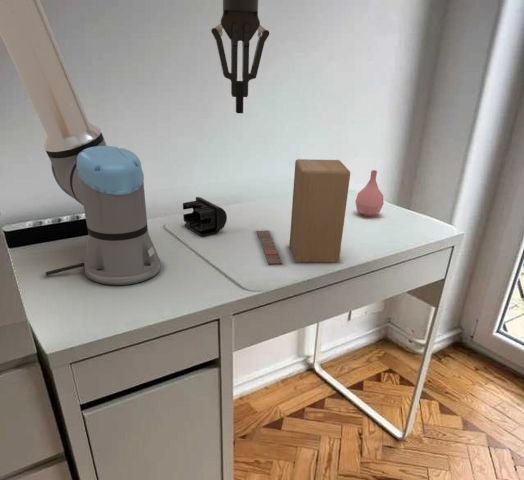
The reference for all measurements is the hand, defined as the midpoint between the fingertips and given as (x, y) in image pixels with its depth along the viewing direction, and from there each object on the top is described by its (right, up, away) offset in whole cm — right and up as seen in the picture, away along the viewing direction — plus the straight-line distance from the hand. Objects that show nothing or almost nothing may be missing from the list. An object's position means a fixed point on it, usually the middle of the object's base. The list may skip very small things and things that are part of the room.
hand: (239, 112), depth 118 cm
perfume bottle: (+35, -18, +23) cm, 46 cm away
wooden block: (+17, -34, -2) cm, 38 cm away
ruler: (+7, -32, 0) cm, 33 cm away
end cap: (-9, -26, +9) cm, 29 cm away
